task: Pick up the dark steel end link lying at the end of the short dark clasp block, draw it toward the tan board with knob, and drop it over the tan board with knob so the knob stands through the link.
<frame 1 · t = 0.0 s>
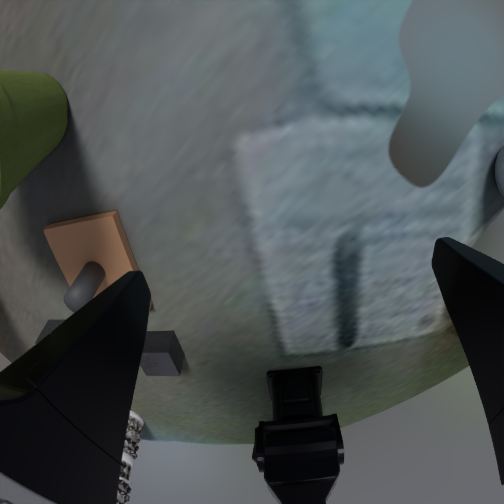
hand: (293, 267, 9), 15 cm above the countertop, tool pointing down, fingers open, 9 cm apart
dark clasp block: (162, 343, 33), on the countertop
plant pot: (39, 113, 19), on the countertop
tan board with knob: (98, 264, 27), on the countertop
decorative candle: (120, 414, 45), on the countertop
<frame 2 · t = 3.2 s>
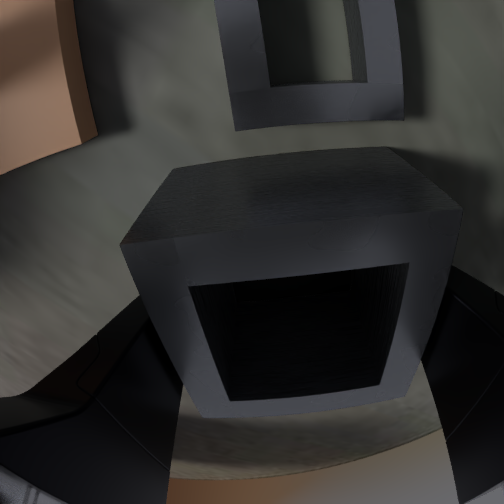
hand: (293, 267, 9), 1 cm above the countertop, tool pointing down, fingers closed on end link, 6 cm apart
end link: (290, 248, 10), on the countertop, touching gripper
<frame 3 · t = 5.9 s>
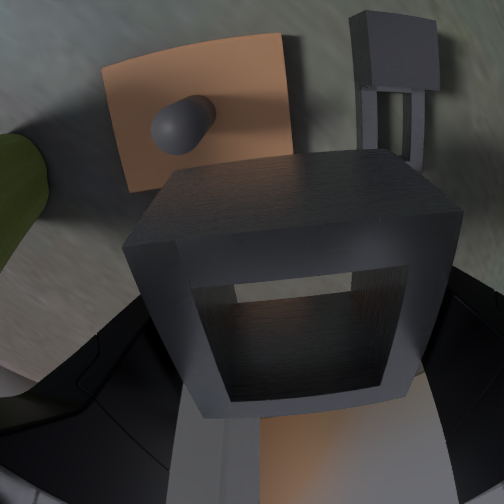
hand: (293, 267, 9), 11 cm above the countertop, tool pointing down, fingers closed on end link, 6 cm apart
dark clasp block: (384, 51, 14), on the countertop
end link: (291, 249, 10), point 10 cm above the countertop, touching gripper
plant pot: (17, 174, 18), on the countertop
soap bottle: (206, 363, 29), on the countertop
tan board with knob: (198, 111, 17), on the countertop
when the fingers open (3 cm above the countertop, at t = 8.6 s): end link stays where it is, resting on tan board with knob.
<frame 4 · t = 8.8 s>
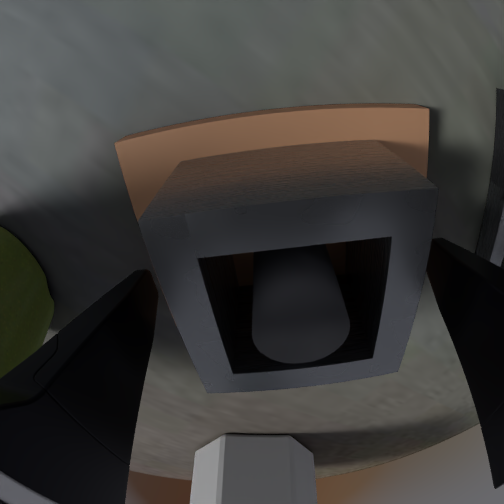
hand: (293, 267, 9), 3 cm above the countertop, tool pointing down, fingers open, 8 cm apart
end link: (288, 233, 11), point 1 cm above the countertop, touching tan board with knob
plant pot: (7, 272, 13), on the countertop
soap bottle: (254, 450, 24), on the countertop
tan board with knob: (284, 219, 11), on the countertop
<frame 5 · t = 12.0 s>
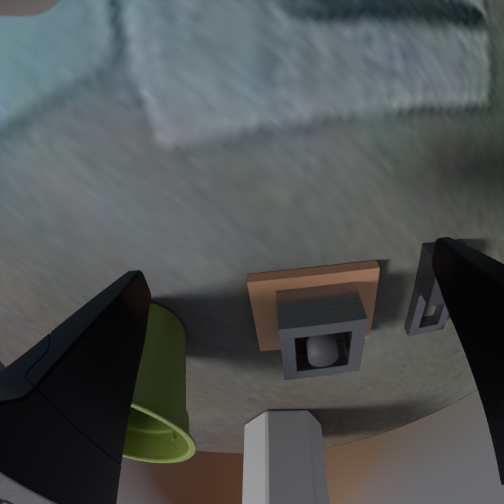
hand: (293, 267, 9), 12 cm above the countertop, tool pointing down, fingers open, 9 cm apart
dark clasp block: (438, 261, 23), on the countertop
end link: (316, 314, 25), point 1 cm above the countertop, touching tan board with knob
plant pot: (148, 325, 28), on the countertop
soap bottle: (283, 423, 38), on the countertop
tan board with knob: (314, 306, 26), on the countertop
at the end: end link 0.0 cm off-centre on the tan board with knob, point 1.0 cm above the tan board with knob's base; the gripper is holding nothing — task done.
